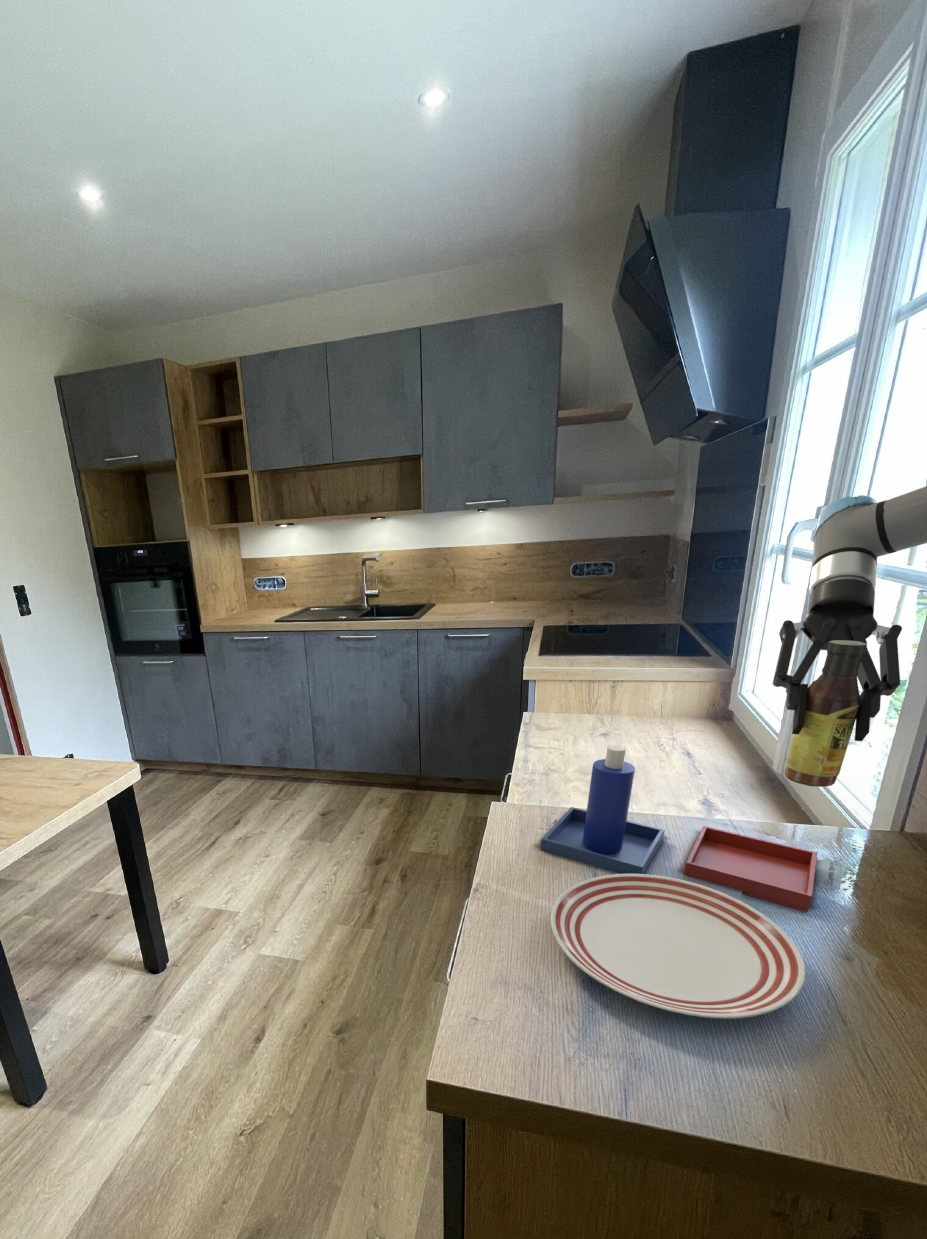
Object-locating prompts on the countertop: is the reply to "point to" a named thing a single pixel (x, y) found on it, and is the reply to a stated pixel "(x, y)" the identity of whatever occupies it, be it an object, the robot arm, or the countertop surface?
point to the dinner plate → (677, 946)
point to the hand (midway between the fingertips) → (829, 732)
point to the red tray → (754, 867)
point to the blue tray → (629, 860)
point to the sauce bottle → (827, 718)
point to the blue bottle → (608, 802)
